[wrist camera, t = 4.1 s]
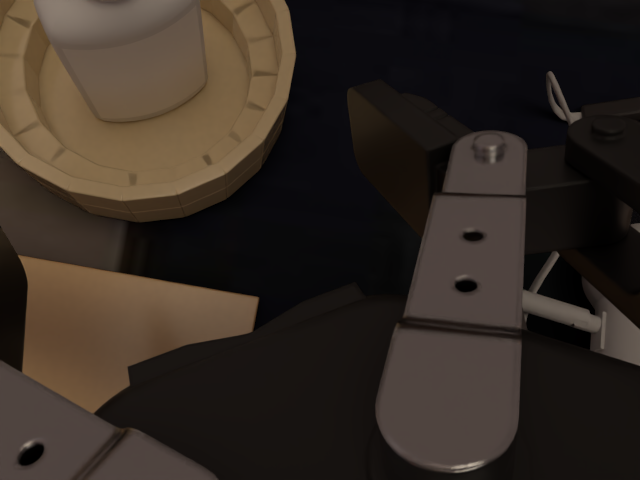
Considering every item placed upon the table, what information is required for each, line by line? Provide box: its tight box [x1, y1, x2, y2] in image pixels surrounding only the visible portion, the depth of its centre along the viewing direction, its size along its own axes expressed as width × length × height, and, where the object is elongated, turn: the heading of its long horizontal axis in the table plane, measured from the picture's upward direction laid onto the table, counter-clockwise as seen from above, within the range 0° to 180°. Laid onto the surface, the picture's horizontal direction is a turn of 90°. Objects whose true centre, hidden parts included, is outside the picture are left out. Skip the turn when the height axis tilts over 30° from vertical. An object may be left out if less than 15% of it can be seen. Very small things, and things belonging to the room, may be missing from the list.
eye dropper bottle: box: [33, 0, 208, 122], centre depth 22 cm, size 4×6×12 cm
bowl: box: [0, 0, 296, 222], centre depth 26 cm, size 13×13×4 cm
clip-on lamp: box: [521, 71, 640, 366], centre depth 27 cm, size 12×6×18 cm
